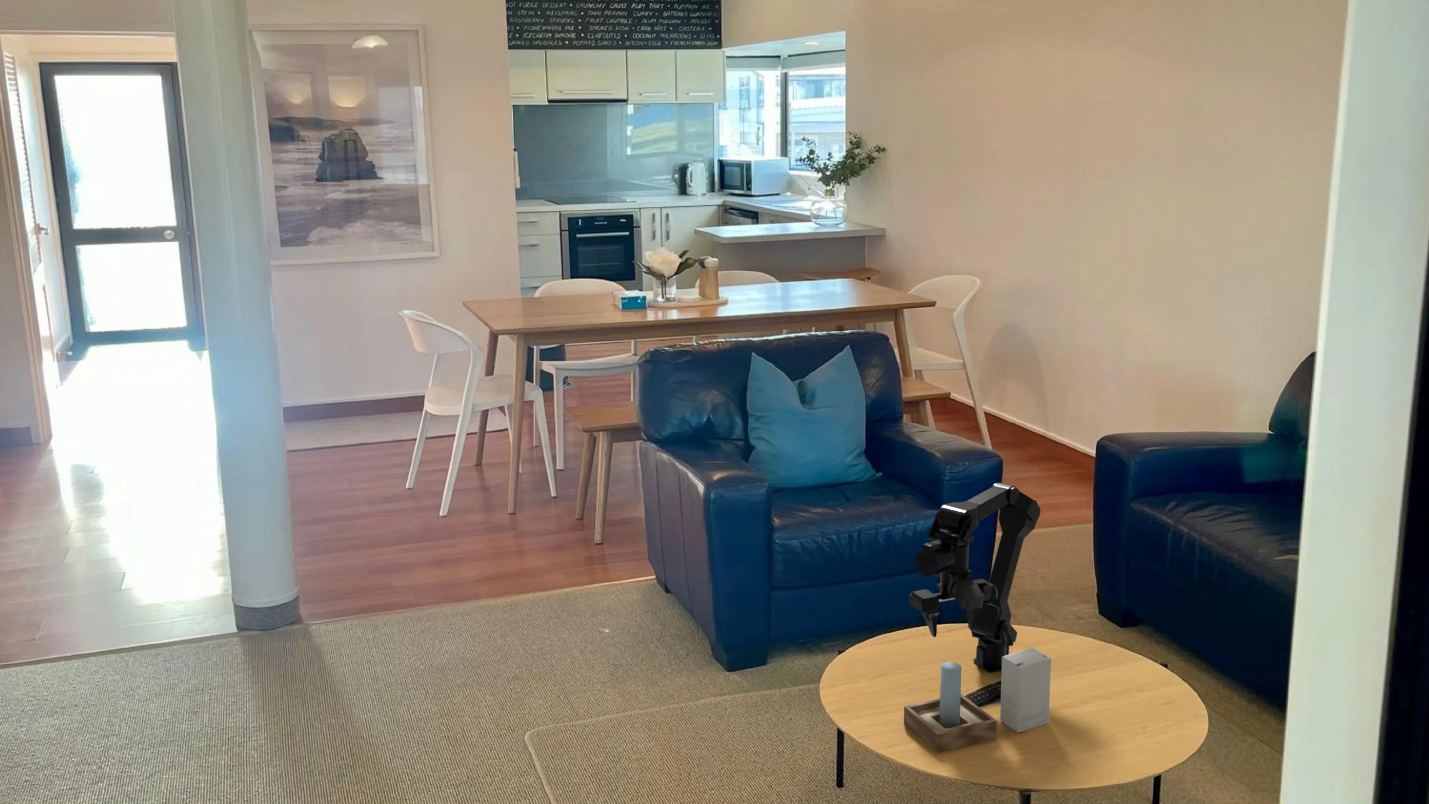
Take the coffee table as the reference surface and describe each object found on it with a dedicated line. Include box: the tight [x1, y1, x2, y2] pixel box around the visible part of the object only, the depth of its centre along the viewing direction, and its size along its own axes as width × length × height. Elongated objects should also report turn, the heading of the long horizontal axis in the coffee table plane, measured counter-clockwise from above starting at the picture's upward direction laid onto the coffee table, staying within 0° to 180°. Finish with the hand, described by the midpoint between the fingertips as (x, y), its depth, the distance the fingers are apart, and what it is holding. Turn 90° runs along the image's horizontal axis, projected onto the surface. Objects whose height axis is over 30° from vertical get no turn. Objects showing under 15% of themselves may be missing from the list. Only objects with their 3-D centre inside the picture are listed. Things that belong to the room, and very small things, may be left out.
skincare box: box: [999, 647, 1052, 733], centre depth 238 cm, size 8×6×15 cm
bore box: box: [903, 693, 998, 753], centre depth 237 cm, size 14×13×4 cm
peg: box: [939, 661, 962, 729], centre depth 235 cm, size 4×4×14 cm
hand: (952, 632), depth 252 cm, fingers open, 9 cm apart
